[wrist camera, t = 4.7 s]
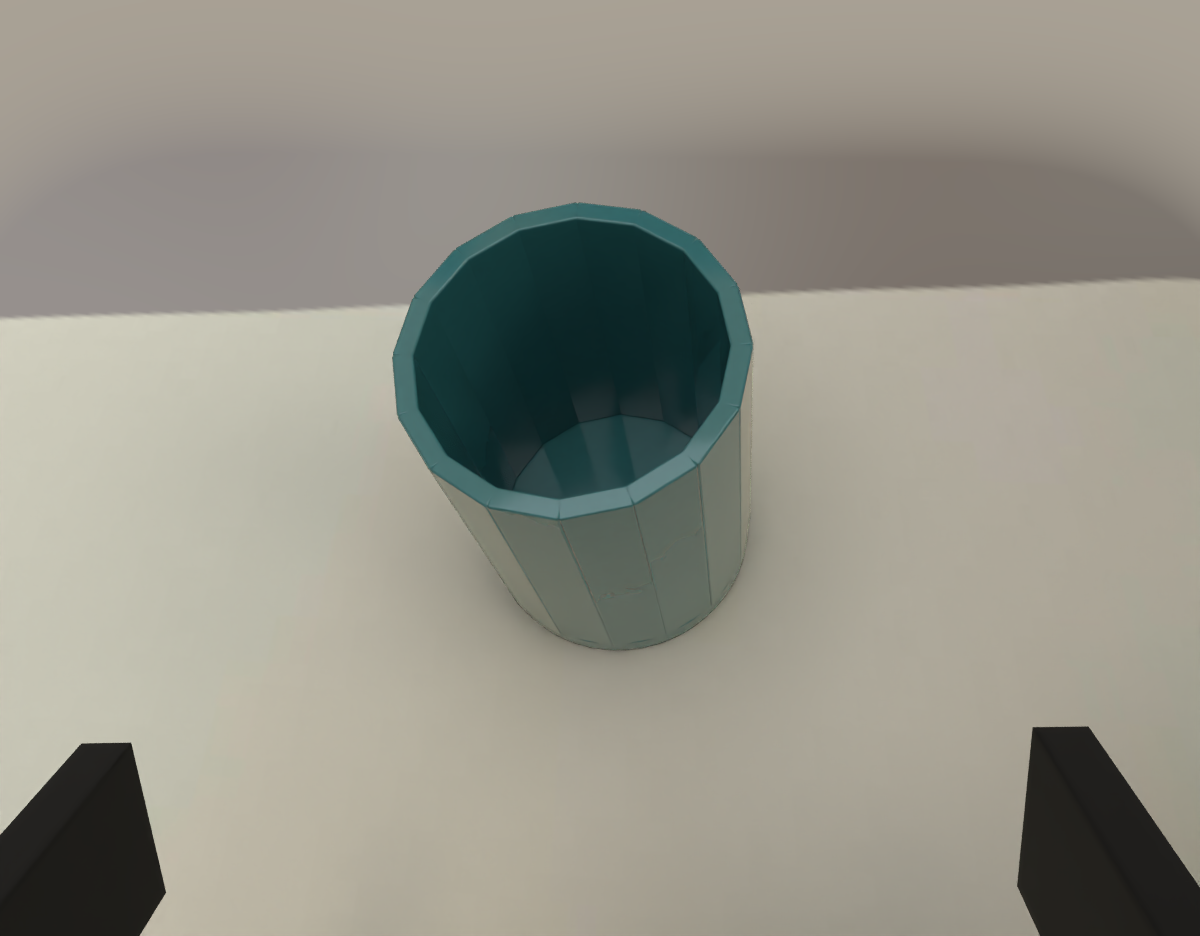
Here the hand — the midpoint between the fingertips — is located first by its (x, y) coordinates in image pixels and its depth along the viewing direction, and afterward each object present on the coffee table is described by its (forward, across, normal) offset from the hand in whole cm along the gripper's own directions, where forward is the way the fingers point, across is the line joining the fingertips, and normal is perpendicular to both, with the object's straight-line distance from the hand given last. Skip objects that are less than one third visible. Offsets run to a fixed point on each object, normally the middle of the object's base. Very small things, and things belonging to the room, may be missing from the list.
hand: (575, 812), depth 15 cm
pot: (+18, 0, -3) cm, 18 cm away
